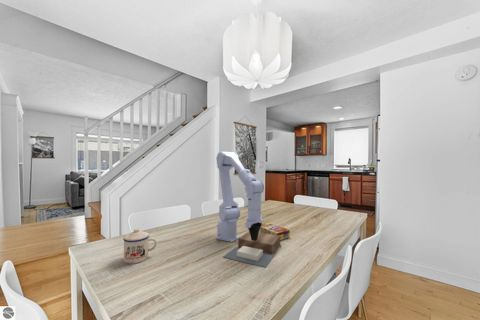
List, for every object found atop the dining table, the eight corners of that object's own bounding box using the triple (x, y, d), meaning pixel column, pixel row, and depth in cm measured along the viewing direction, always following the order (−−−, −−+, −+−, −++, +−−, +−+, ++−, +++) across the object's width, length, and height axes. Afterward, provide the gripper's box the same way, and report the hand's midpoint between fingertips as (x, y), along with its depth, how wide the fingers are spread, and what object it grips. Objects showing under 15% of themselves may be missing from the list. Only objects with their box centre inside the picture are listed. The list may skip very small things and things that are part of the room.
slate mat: (223, 257, 82) (223, 256, 82) (235, 247, 92) (235, 246, 92) (265, 267, 74) (265, 266, 74) (274, 255, 84) (274, 254, 84)
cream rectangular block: (243, 245, 88) (243, 250, 88) (236, 251, 83) (236, 256, 83) (262, 249, 84) (262, 254, 84) (257, 255, 79) (257, 260, 79)
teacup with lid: (121, 266, 75) (121, 234, 75) (125, 255, 83) (125, 227, 83) (156, 260, 79) (156, 230, 79) (156, 251, 88) (157, 224, 88)
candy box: (276, 232, 100) (257, 225, 113) (277, 241, 100) (258, 233, 113) (289, 229, 105) (270, 222, 118) (290, 237, 105) (270, 230, 117)
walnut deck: (238, 247, 92) (238, 238, 92) (248, 238, 103) (249, 230, 103) (272, 254, 85) (272, 245, 85) (280, 244, 96) (280, 235, 96)
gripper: (256, 213, 80) (256, 248, 80) (268, 206, 93) (268, 236, 93) (240, 211, 83) (240, 244, 83) (254, 204, 96) (254, 233, 96)
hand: (254, 240), depth 88 cm, fingers closed
